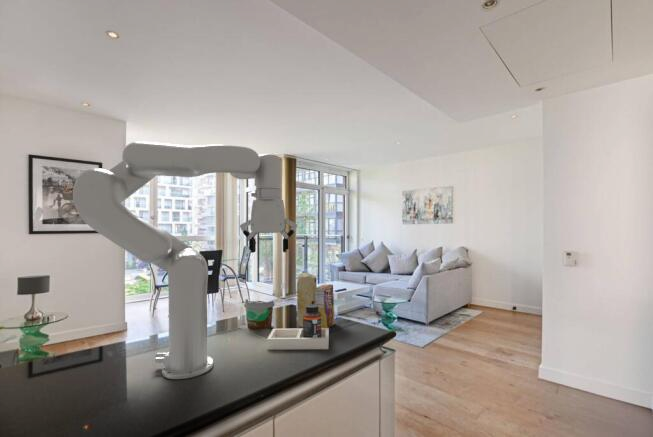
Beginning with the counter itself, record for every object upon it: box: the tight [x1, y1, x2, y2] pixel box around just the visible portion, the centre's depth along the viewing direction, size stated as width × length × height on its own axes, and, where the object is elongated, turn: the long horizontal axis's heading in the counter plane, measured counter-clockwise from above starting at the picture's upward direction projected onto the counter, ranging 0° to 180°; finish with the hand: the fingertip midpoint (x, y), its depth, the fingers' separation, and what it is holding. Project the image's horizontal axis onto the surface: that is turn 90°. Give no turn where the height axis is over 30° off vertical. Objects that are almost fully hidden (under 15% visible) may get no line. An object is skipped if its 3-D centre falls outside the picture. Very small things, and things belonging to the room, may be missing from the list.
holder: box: [266, 327, 330, 350], centre depth 101 cm, size 19×10×3 cm, turn 89°
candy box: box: [315, 283, 336, 329], centre depth 118 cm, size 9×4×15 cm, turn 155°
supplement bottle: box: [302, 305, 322, 338], centre depth 101 cm, size 6×6×11 cm
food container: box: [243, 298, 276, 331], centre depth 118 cm, size 12×6×10 cm, turn 73°
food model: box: [296, 272, 318, 328], centre depth 120 cm, size 10×7×20 cm
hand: (269, 252), depth 94 cm, fingers open, 9 cm apart
